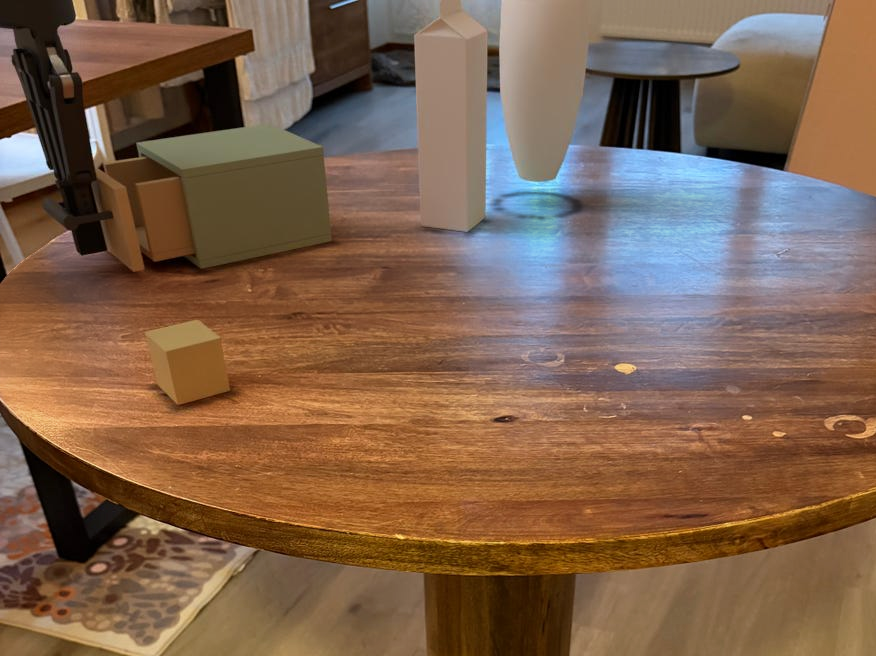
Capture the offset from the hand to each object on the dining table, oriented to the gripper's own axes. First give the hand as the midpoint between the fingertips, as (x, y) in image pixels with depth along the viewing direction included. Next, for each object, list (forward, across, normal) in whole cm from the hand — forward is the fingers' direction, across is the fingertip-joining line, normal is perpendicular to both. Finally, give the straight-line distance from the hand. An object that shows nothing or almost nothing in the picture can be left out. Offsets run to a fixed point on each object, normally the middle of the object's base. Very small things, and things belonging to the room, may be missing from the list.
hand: (92, 250), depth 94 cm
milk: (+2, -9, -40) cm, 41 cm away
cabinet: (+2, 0, -17) cm, 17 cm away
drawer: (+1, 0, -7) cm, 7 cm away
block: (+2, -32, +3) cm, 32 cm away
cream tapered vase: (+2, -8, -52) cm, 53 cm away
